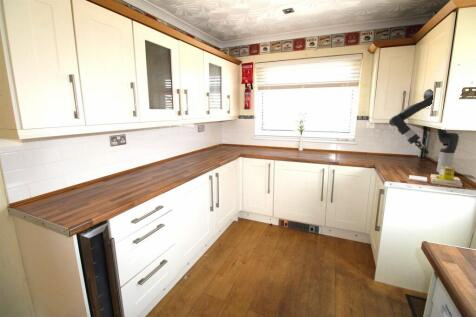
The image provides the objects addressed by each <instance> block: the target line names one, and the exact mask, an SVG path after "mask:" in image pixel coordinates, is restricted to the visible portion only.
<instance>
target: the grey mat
mask: <svg viewBox="0 0 476 317" xmlns="http://www.w3.org/2000/svg"><path fill="white" fill-rule="evenodd" d="M408 181H414V182H421V183H422V182H423V183H428V177H426V176H418V175H413V174H412V175H410V174H409V175H408Z"/></svg>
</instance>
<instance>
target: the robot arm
mask: <svg viewBox="0 0 476 317" xmlns="http://www.w3.org/2000/svg"><path fill="white" fill-rule="evenodd" d="M431 89H432V88H430V89H426V90H425V91H424V93H423V100H421V101H419V102H416V103H414V104H412V105H411V104H410V105H409V106H407V107H406V108H404V109H403V110H401V111H400V112H399V113H397V114H396V115H393V116H391V118H390V119H389V120H388V121H389V122H388V123H389V125H390V126H392V127H396V128H397V131H398V132H399V133H400V134H401V136H402V137H404V139H405V140H406V141H407V142H408V143H409V144H410V145H412V144H414V145H415V146H416V147H417V148H418V149H419V150H420V151H422V152H423V153H424V154H425V155H427V154H429V150H428V149H427V148H426V146H425V145H424V144H423V142H421V141H420V139H421V137H420V135H418V134H417V133H416V132H415V131H414V130H413V129H412V128H410V127H409V125H407V123H406V122H405V120H407V119H408V118H410V117H412V116H413V115H415V114H416V113H418V112H421V111H422V110H424V109H427V108H429V107H428V106H430V105H431V104H432V100H433V91H432V90H431ZM436 132H437V135H438V140H439V142H440V143H441V144H444V145H447V146H445V147H441V148H440V149H439V155H438V161H437V166H436V173H439V172H440V167H451V168H453V163H454V158H455V153H456V150H457V146H458V143H459V139H460V138H459V134H458V133H454V132H447V130H441V129H436Z"/></svg>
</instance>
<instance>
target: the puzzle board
mask: <svg viewBox="0 0 476 317" xmlns="http://www.w3.org/2000/svg"><path fill="white" fill-rule="evenodd" d="M429 177H430V181H431V184H433V185H443V186H449V187H457V188H462V187H463V182H462V181H461V179H460V178H459V177H458V176H453V181H448V180H441V179H438V178H439V174H434V173H433V174H432V173H431V174H430V176H429Z"/></svg>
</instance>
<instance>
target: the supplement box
mask: <svg viewBox="0 0 476 317" xmlns="http://www.w3.org/2000/svg"><path fill="white" fill-rule="evenodd" d="M455 169H456V168H454V167H452V168H451V167H440V172H438V175H439V178H438V179H441V180H448V181H453V177H455Z"/></svg>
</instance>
